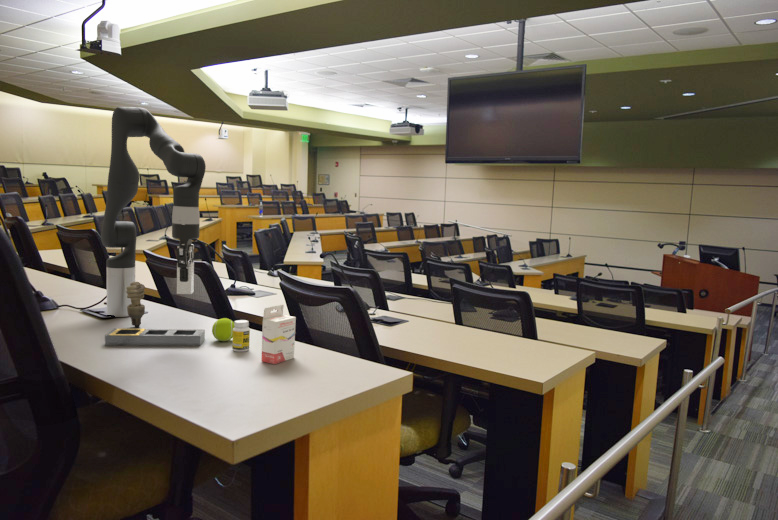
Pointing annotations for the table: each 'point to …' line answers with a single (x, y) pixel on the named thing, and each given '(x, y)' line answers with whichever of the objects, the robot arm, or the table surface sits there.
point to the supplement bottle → (241, 336)
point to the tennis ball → (223, 329)
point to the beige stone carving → (135, 302)
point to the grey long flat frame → (155, 337)
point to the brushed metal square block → (189, 285)
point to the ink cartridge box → (277, 335)
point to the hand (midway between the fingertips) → (185, 280)
